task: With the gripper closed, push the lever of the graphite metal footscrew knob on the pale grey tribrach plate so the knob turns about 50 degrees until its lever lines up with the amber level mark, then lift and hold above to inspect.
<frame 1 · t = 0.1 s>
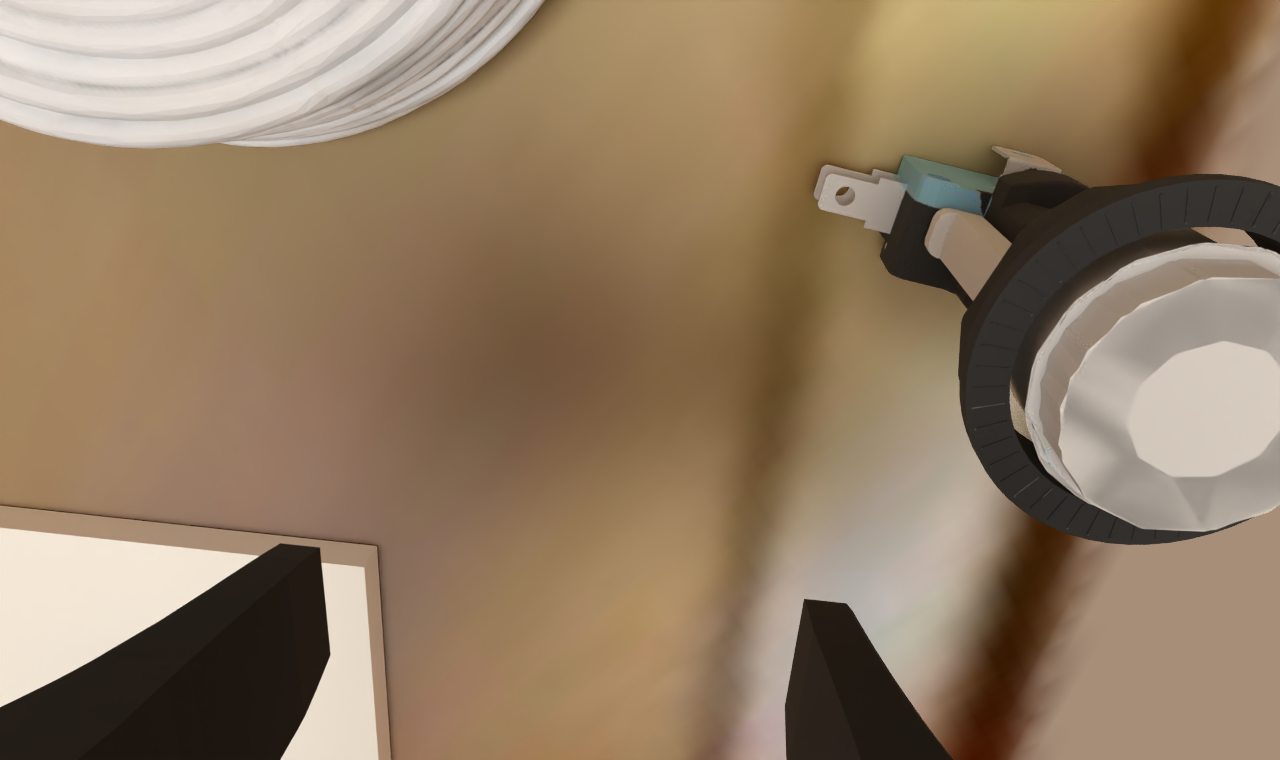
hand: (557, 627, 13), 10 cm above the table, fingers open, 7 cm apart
tribrach plate: (154, 745, 29), on the table
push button: (956, 205, 20), on the table
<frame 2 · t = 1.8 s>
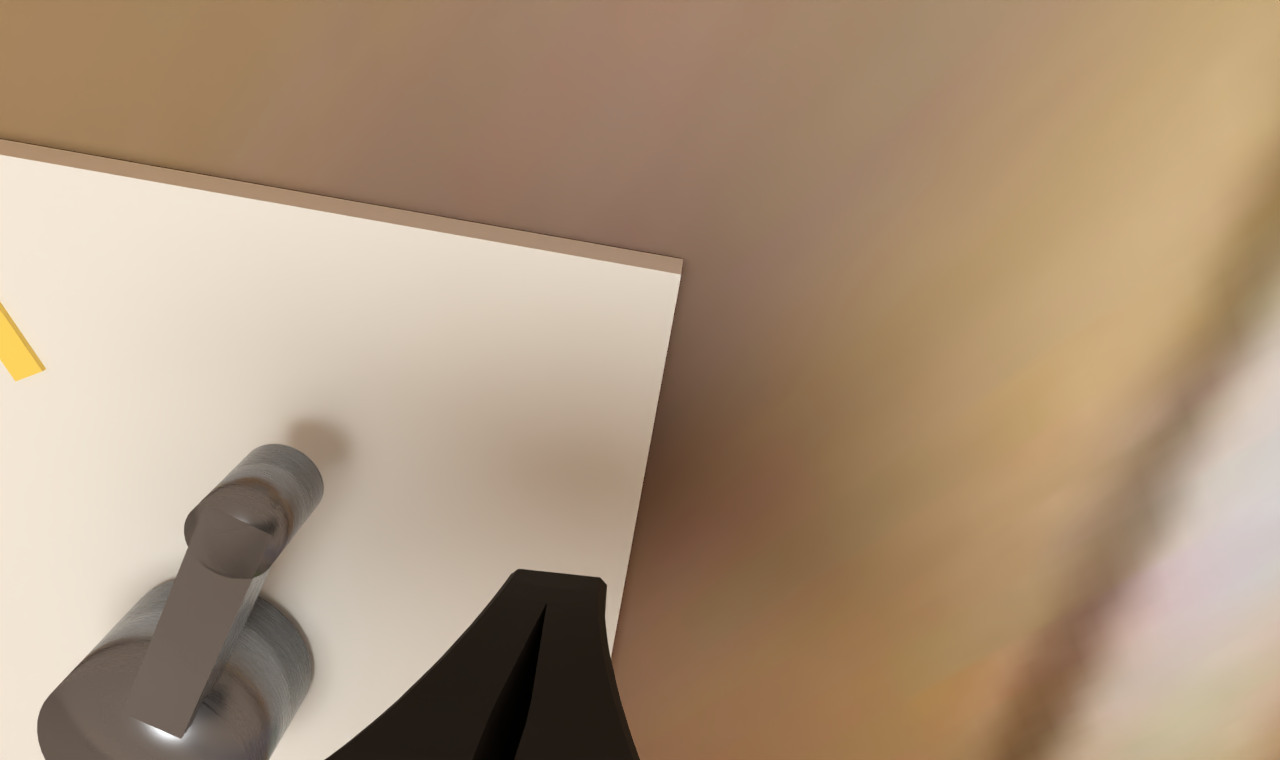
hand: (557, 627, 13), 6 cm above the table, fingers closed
tribrach plate: (283, 563, 21), on the table
footscrew knob: (213, 630, 18), point 3 cm above the table, hinge at -50.0°
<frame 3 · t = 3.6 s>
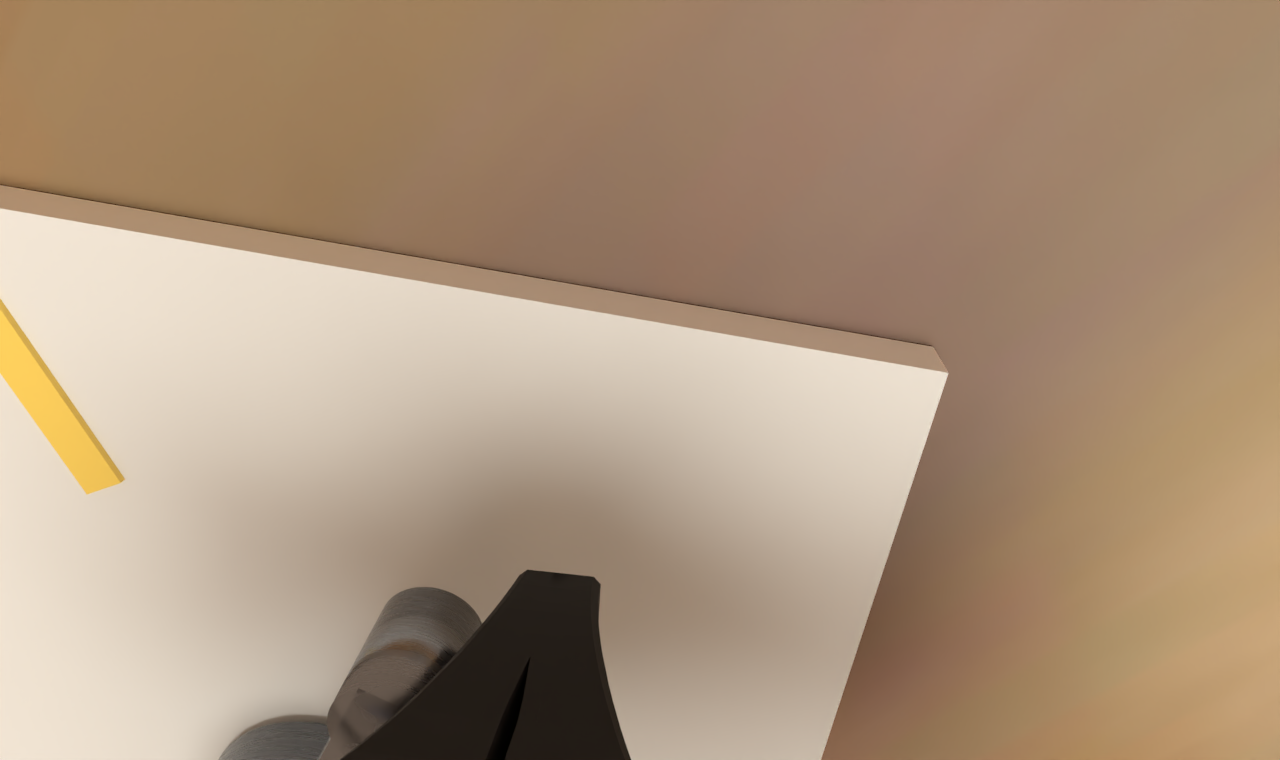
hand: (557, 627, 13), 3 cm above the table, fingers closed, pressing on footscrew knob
tribrach plate: (398, 693, 17), on the table
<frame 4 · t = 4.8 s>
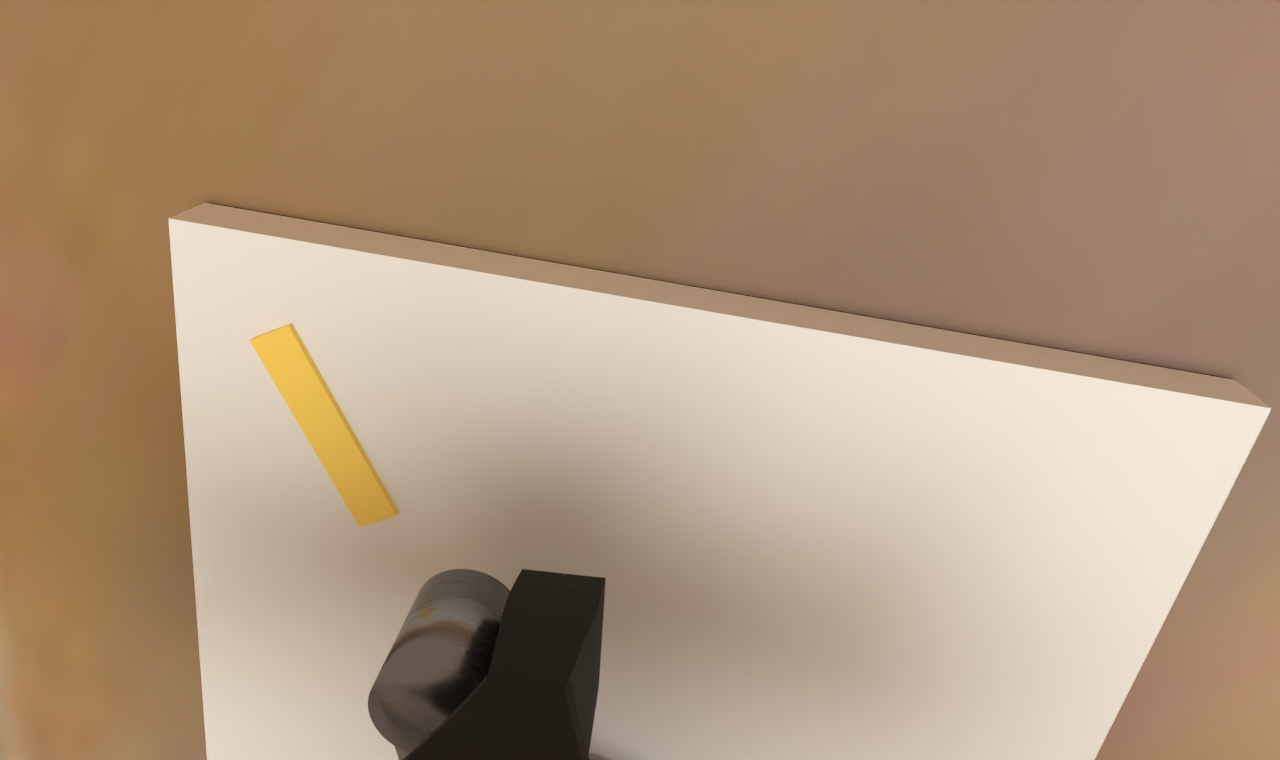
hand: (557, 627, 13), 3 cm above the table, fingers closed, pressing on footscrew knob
tribrach plate: (630, 723, 17), on the table
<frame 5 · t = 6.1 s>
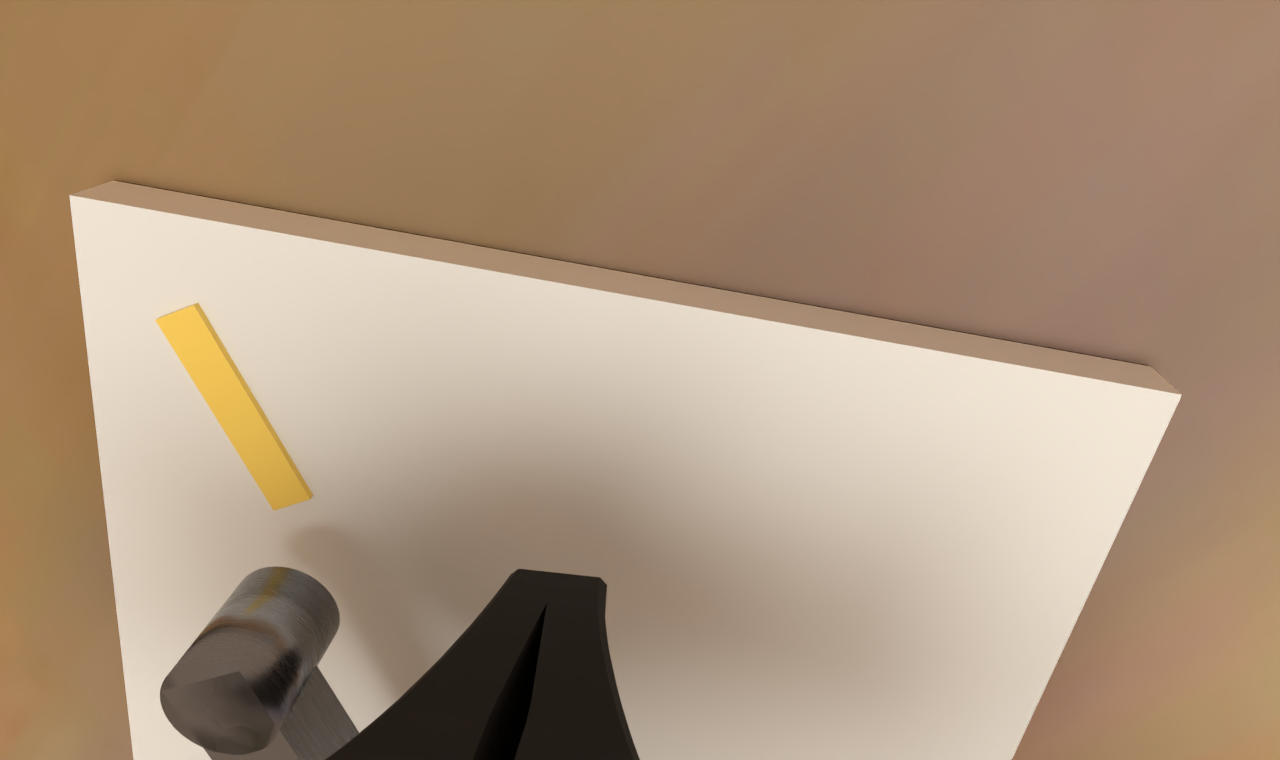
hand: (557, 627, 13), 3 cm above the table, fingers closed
tribrach plate: (558, 710, 17), on the table
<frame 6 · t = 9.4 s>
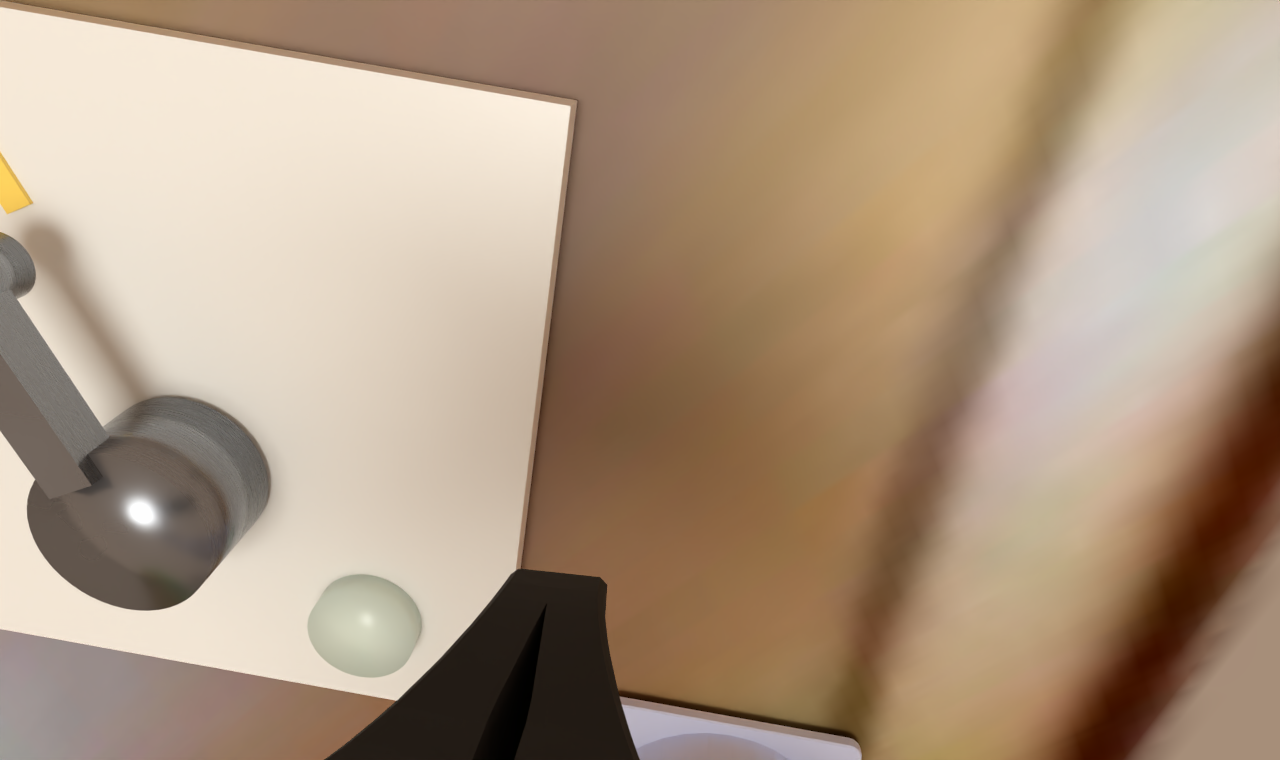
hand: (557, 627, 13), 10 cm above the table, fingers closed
tribrach plate: (243, 392, 24), on the table
footscrew knob: (92, 419, 21), point 3 cm above the table, hinge at -0.6°
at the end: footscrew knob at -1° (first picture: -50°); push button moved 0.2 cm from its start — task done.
